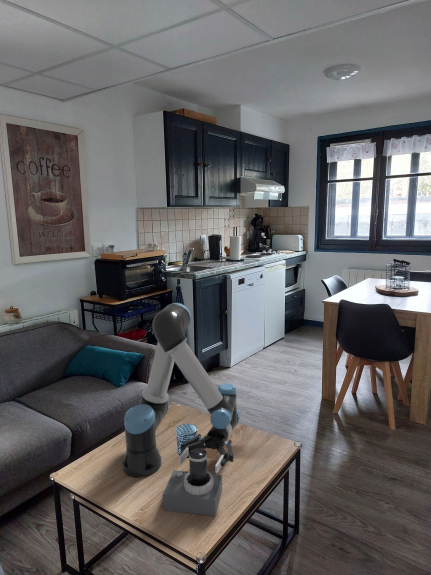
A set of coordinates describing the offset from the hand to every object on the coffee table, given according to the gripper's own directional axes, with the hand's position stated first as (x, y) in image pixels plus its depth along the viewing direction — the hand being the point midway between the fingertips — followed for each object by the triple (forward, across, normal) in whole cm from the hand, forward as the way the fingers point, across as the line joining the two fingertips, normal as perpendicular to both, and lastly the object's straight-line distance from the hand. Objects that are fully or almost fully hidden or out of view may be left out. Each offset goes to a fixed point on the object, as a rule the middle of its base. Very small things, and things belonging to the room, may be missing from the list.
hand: (197, 465), depth 135 cm
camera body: (0, +2, -14) cm, 14 cm away
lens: (-1, 0, -8) cm, 8 cm away
